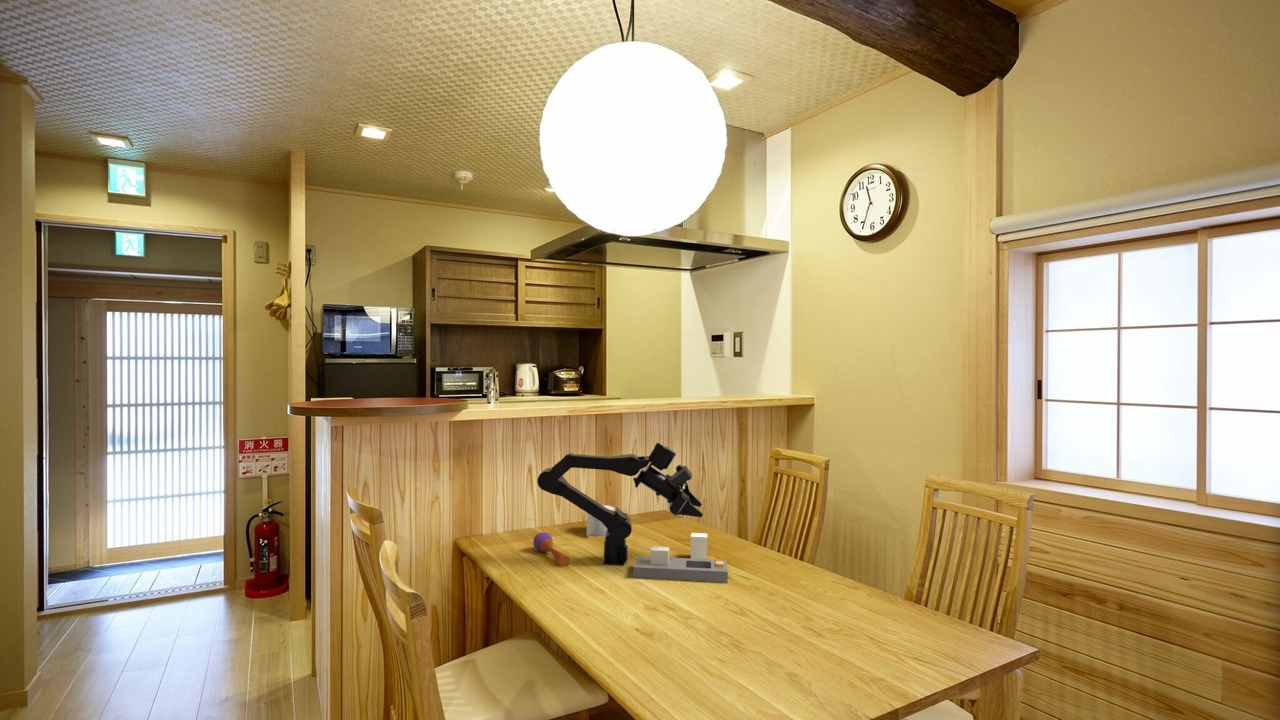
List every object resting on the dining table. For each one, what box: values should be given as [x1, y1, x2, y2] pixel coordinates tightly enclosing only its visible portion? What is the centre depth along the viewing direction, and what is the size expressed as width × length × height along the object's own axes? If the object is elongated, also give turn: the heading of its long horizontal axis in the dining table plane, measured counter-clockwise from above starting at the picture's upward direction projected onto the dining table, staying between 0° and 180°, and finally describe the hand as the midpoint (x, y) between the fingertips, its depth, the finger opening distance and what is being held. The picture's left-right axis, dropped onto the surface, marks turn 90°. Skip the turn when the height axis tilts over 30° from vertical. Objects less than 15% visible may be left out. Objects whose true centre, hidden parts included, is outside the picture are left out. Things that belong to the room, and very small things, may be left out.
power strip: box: [632, 545, 729, 584], centre depth 177 cm, size 26×10×7 cm, turn 84°
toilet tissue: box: [585, 504, 615, 538], centre depth 217 cm, size 9×13×9 cm
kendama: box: [533, 531, 571, 567], centre depth 191 cm, size 6×6×20 cm
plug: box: [690, 532, 708, 559], centre depth 192 cm, size 5×4×7 cm
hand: (701, 510), depth 187 cm, fingers open, 9 cm apart
